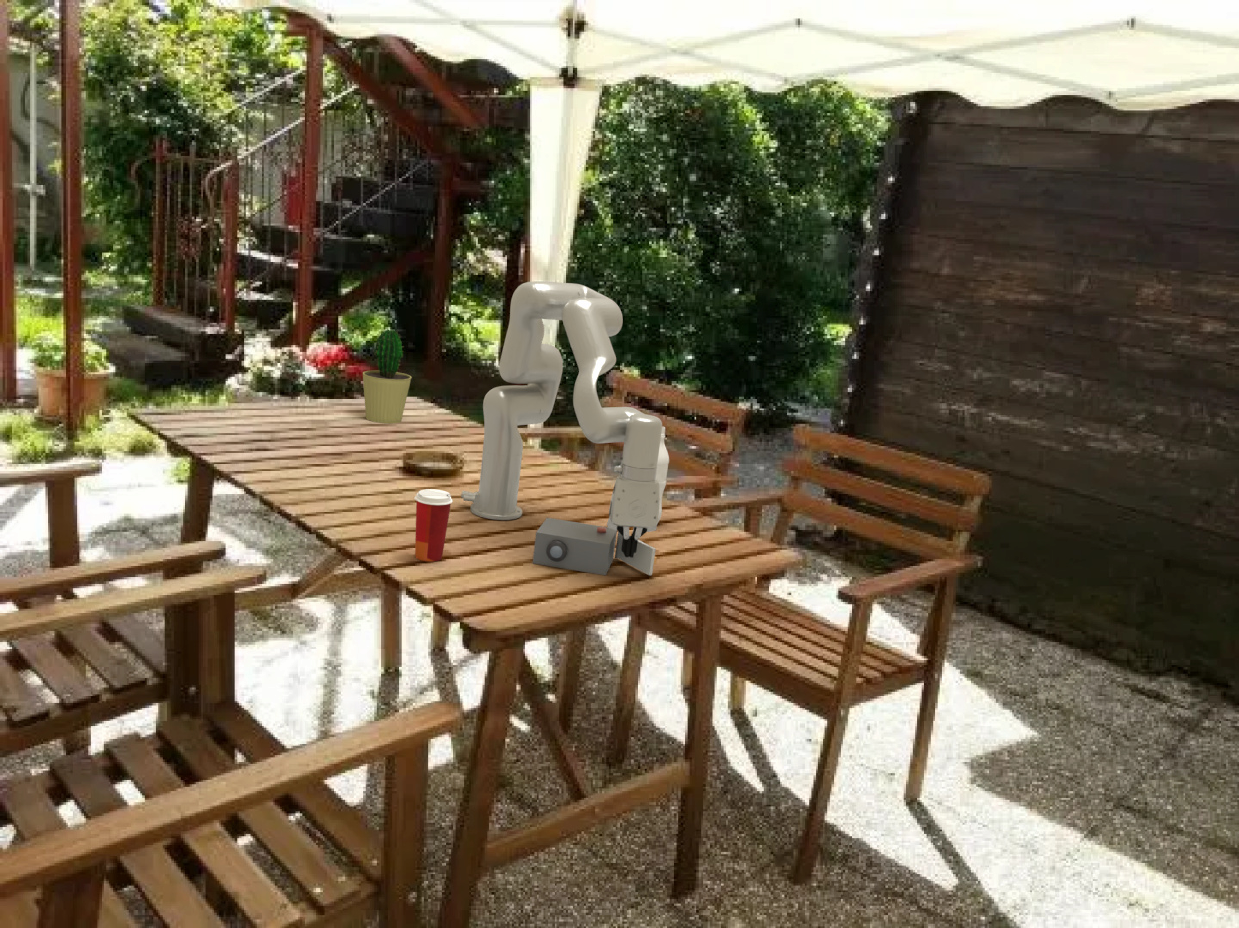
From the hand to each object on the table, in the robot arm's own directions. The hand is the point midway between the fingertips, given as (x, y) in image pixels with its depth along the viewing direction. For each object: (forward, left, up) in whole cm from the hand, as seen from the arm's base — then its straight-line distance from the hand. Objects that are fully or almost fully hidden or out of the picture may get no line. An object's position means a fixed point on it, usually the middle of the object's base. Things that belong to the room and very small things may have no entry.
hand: (628, 555), depth 229 cm
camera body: (-12, +3, -4) cm, 13 cm away
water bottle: (0, +41, -4) cm, 41 cm away
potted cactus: (-94, +111, -5) cm, 145 cm away
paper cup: (-41, -10, -5) cm, 42 cm away
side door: (+1, +5, -4) cm, 7 cm away
